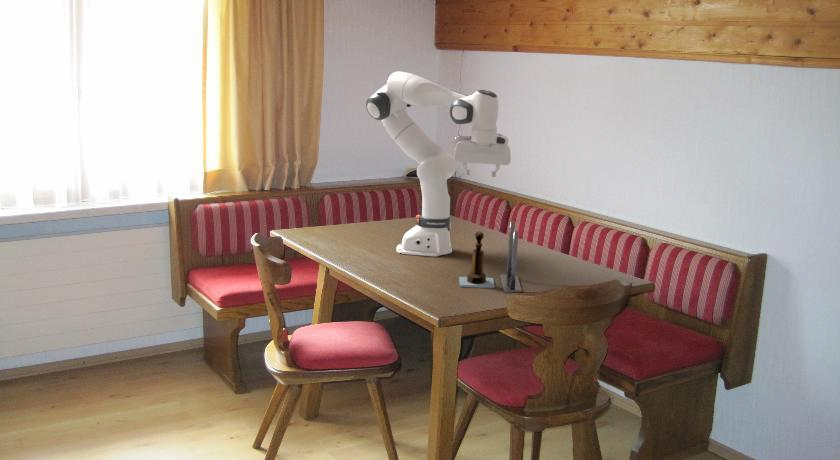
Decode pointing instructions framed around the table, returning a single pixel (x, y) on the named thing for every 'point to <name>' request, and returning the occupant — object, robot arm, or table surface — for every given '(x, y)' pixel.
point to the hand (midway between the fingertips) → (480, 175)
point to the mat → (487, 284)
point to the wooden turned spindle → (477, 262)
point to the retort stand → (511, 264)
